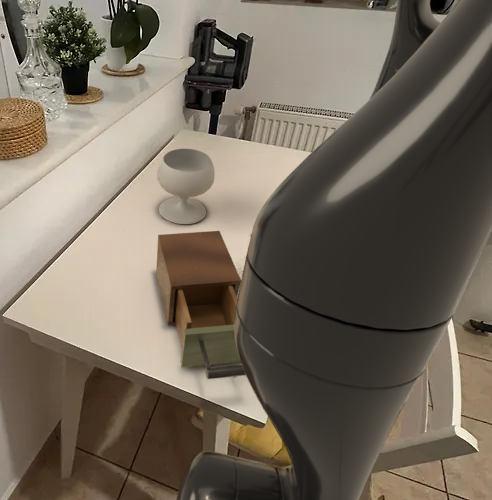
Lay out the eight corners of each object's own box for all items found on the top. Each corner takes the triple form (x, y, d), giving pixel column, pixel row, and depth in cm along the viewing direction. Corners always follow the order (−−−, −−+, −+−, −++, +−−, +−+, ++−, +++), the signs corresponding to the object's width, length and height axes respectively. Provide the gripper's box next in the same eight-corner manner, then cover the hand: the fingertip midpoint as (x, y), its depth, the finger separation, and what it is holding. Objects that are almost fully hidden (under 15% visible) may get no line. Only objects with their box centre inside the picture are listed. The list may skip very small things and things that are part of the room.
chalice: (147, 201, 115) (149, 150, 105) (195, 192, 119) (200, 142, 109) (168, 232, 105) (171, 178, 95) (218, 221, 109) (227, 169, 99)
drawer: (258, 395, 71) (270, 363, 65) (189, 403, 69) (194, 371, 64) (224, 304, 86) (231, 271, 80) (168, 308, 85) (170, 276, 79)
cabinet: (232, 320, 84) (241, 280, 77) (167, 325, 83) (171, 286, 76) (213, 269, 95) (219, 230, 88) (156, 273, 94) (158, 234, 87)
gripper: (331, 110, 52) (297, 219, 62) (400, 169, 41) (345, 289, 51) (389, 108, 52) (346, 216, 63) (471, 165, 42) (403, 284, 52)
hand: (346, 248), depth 57 cm, fingers open, 8 cm apart
